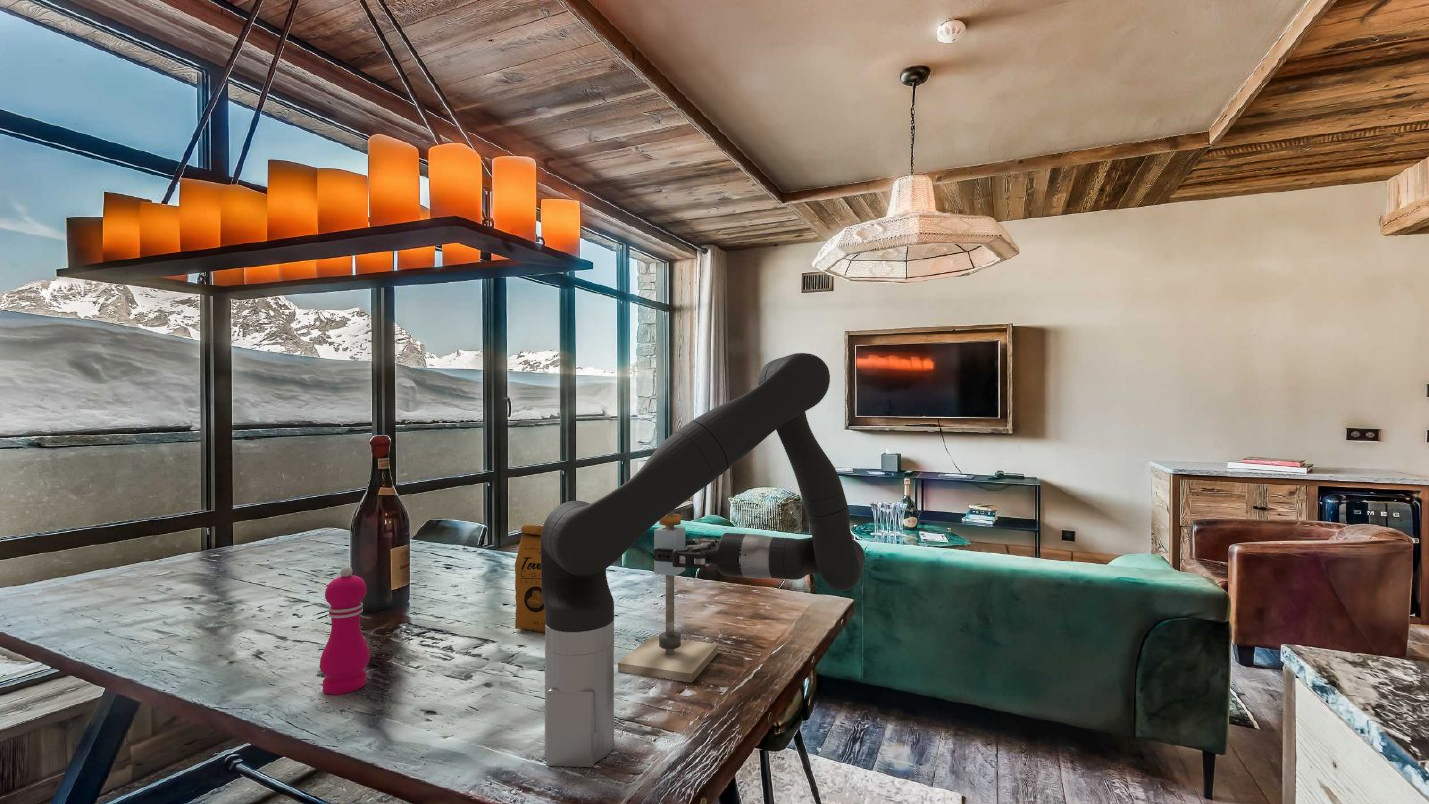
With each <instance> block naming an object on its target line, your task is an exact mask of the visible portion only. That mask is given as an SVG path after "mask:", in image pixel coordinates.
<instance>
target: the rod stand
mask: <svg viewBox="0 0 1429 804" xmlns="http://www.w3.org/2000/svg"><path fill="white" fill-rule="evenodd" d="M681 515H682V514H679V513H675V509H674V510H673V511H672V512H670V513H669V514H667V515H666V516H665V517H663V518H662V519H661V520H659V521H658V525H660V526H666V530H674V526H675V527H676V526H681V523H682V521H681V520H682V517H681ZM681 638H682V635H681V633H680V632H678V631H675V576H673V575H665V631H664V632H661V633H659V635H658V636H654V635H651V636H650V637H649V638H648V639H646V640H645V641H643V643H641V644H640V645H638V646H637V647H636V648H635V649H634V650H632V651H631V652H630V653H628V654H627V655H626V656H625V657H623V659H621V660H620V661H618V662H617V672H620V673H624V674H625V673H626V674H633V675H639V676H646V677H653V678H660V679H664V678H665V679H666V680H671V679H672V681H678V682H679V681H680V682H685V683H693V682H694V681H695V680H696V679H697V677H698V676H699V675H700V673H702V672H703V670H704V669H705V668H706V667H707V666H708V665H709V664H710V663H711V661H712V660H713V659H714V658H715V656H717V654H719V644H715V643H709V642H702V641H700V642H699V641H693V640H687V639H686V640H683V639H681Z"/></svg>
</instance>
